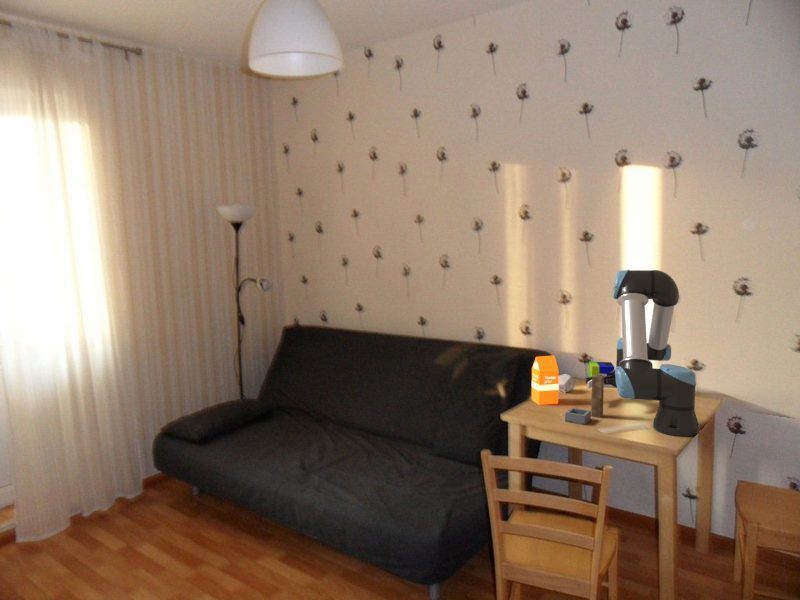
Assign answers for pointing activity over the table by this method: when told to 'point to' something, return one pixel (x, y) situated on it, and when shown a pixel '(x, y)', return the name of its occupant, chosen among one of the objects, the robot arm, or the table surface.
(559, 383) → the crumpled paper ball
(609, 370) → the puzzle toy
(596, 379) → the brown rectangular block
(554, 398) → the orange juice
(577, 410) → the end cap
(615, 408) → the table surface
